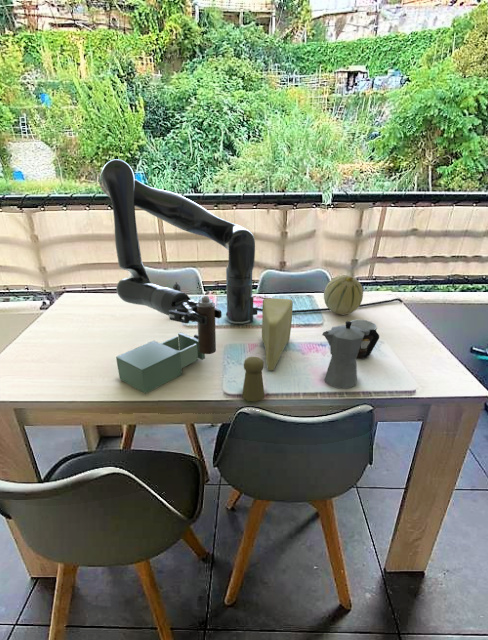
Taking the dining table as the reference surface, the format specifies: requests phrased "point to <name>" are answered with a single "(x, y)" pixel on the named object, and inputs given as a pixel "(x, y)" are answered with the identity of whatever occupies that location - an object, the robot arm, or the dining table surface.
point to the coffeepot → (346, 353)
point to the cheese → (276, 328)
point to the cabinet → (149, 366)
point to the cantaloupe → (343, 294)
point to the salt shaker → (177, 287)
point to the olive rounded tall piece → (253, 379)
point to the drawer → (185, 348)
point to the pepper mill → (206, 326)
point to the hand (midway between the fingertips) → (213, 317)
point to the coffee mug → (366, 340)
